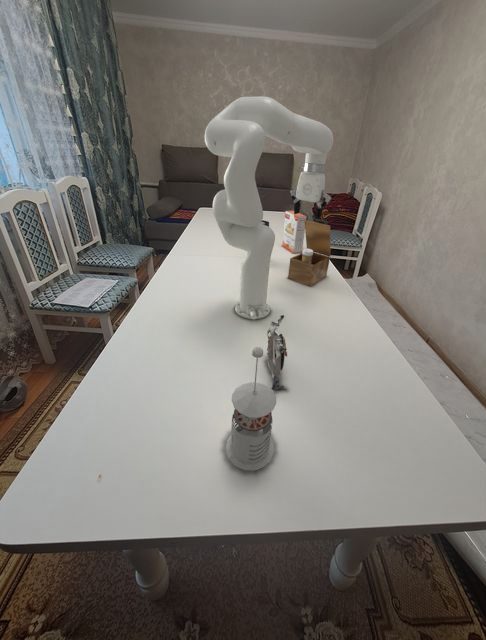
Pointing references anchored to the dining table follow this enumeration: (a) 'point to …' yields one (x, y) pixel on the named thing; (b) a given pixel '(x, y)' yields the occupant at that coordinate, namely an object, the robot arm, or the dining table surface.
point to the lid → (318, 236)
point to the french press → (252, 424)
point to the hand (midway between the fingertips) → (306, 215)
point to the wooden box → (308, 269)
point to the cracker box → (294, 231)
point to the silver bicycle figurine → (276, 353)
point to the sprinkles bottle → (307, 255)
